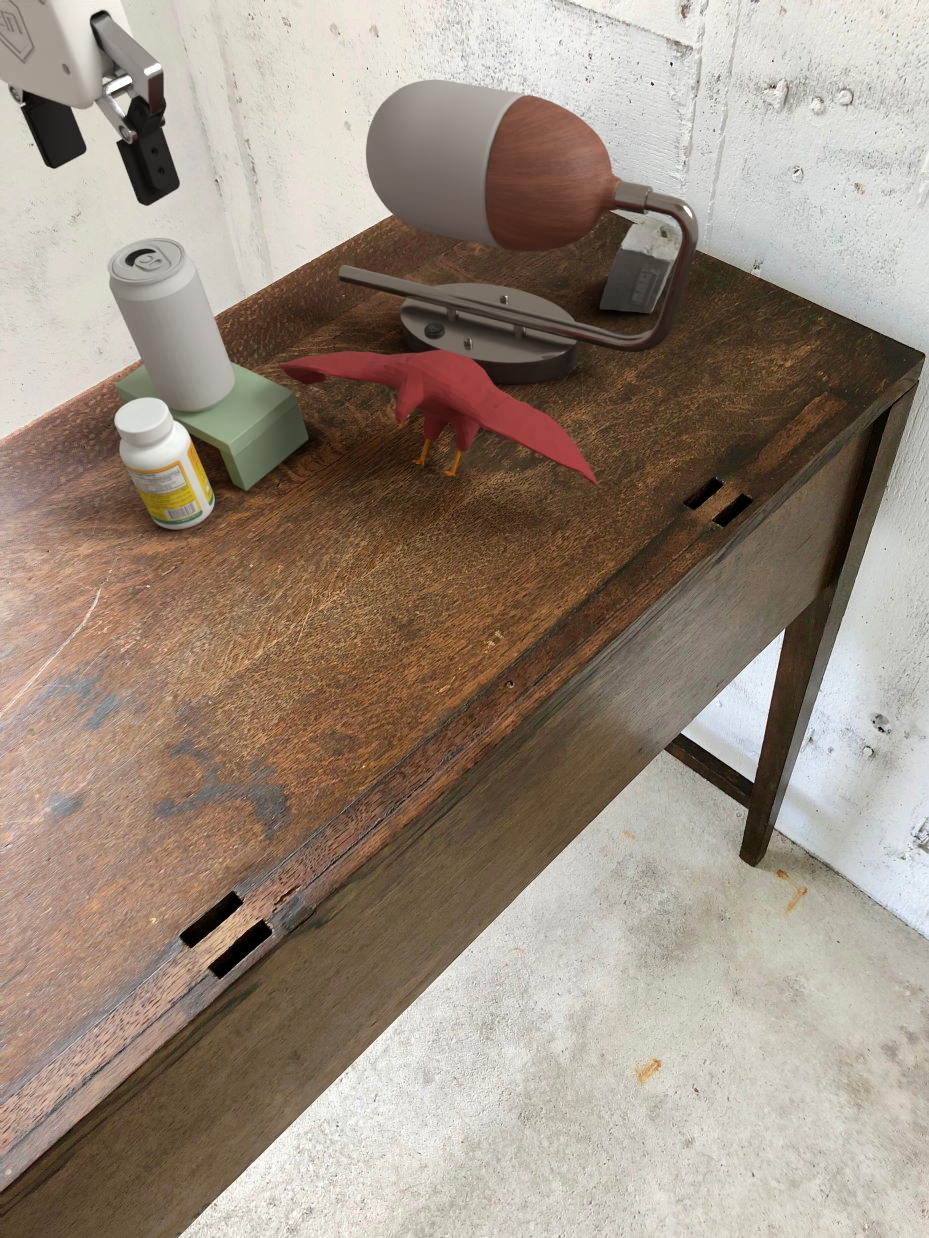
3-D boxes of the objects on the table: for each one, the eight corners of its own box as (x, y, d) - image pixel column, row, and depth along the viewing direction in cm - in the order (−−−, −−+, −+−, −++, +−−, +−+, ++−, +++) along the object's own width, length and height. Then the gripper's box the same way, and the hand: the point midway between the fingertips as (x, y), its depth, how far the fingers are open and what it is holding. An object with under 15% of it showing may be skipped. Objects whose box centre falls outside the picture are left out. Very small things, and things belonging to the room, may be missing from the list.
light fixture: (333, 35, 78) (735, 98, 68) (379, 276, 96) (704, 356, 85) (256, 93, 73) (679, 172, 62) (320, 337, 91) (658, 431, 80)
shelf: (136, 431, 84) (113, 384, 80) (199, 384, 88) (180, 337, 84) (246, 491, 79) (227, 444, 75) (309, 439, 82) (294, 391, 78)
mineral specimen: (590, 325, 88) (592, 233, 82) (611, 291, 94) (614, 203, 88) (670, 332, 86) (677, 239, 81) (686, 296, 92) (694, 207, 87)
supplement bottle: (189, 539, 76) (144, 447, 68) (138, 520, 78) (88, 427, 70) (230, 495, 79) (191, 401, 71) (179, 477, 80) (136, 384, 73)
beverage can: (204, 359, 82) (152, 224, 72) (254, 386, 79) (207, 250, 69) (145, 399, 79) (83, 265, 69) (195, 428, 76) (137, 293, 66)
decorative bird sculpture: (340, 434, 89) (235, 403, 75) (369, 335, 87) (267, 285, 73) (612, 534, 79) (550, 519, 65) (652, 426, 77) (597, 387, 64)
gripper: (-163, -146, 52) (-9, 170, 66) (28, -104, 46) (155, 238, 59) (-46, -183, 56) (77, 125, 70) (148, -148, 49) (241, 185, 63)
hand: (112, 177), depth 65 cm, fingers open, 9 cm apart
